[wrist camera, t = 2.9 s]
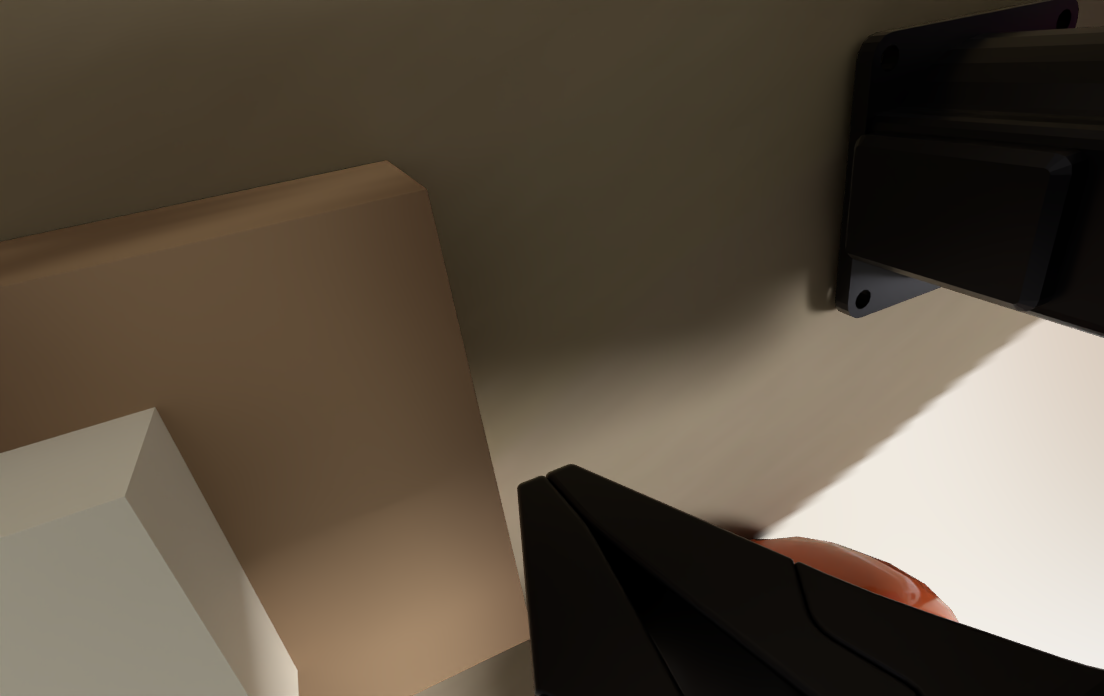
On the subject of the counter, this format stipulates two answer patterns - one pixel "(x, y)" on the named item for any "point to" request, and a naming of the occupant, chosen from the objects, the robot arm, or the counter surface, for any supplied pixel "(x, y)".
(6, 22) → the counter surface
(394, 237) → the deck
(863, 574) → the tomato
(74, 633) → the white rectangular block
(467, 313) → the counter surface
